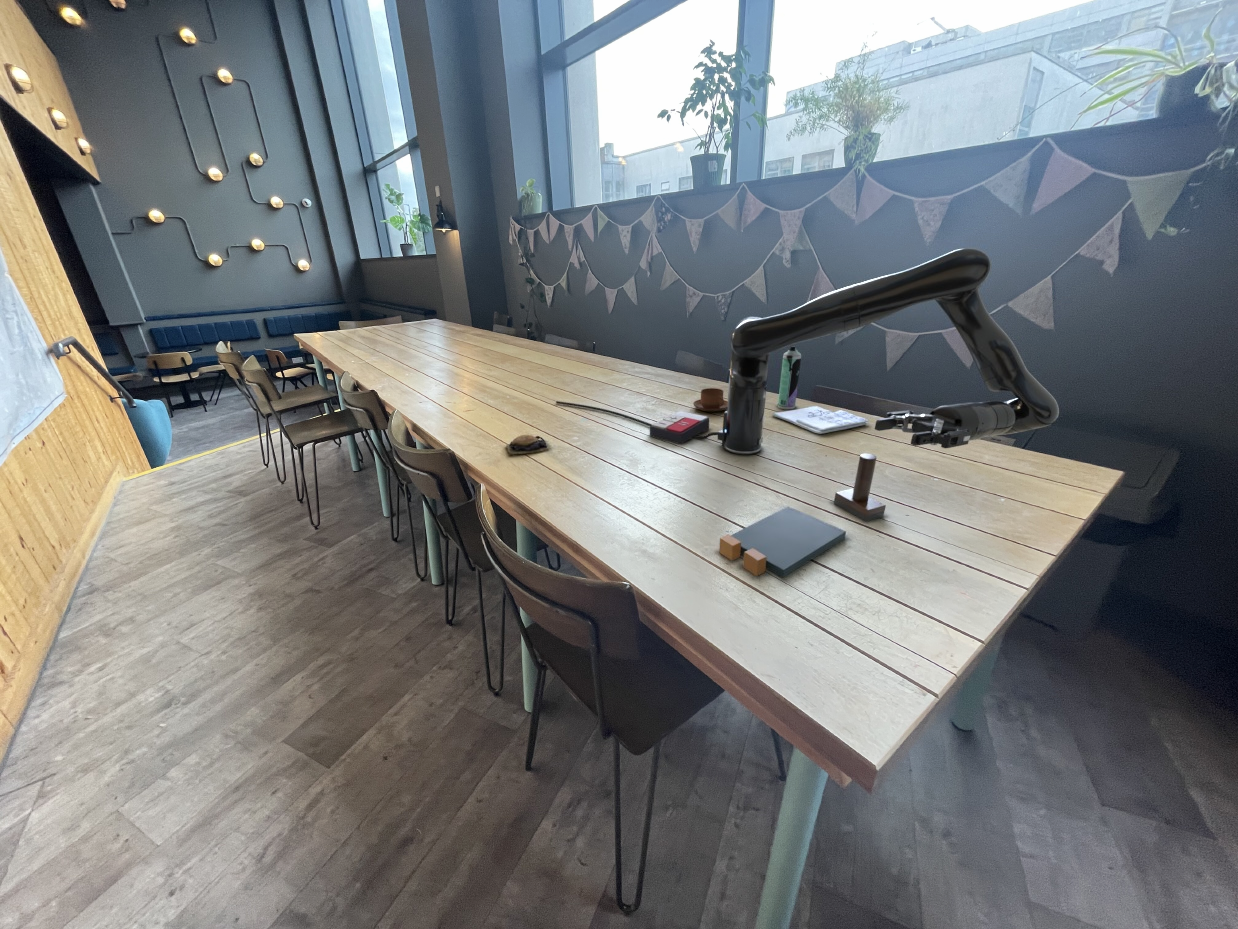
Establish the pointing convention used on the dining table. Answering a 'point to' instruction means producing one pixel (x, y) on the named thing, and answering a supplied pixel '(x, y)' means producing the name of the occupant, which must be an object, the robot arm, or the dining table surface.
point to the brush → (861, 492)
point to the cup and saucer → (711, 400)
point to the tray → (788, 539)
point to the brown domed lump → (526, 445)
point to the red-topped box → (679, 427)
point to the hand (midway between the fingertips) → (894, 432)
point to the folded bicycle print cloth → (821, 419)
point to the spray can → (789, 379)
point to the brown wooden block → (730, 547)
